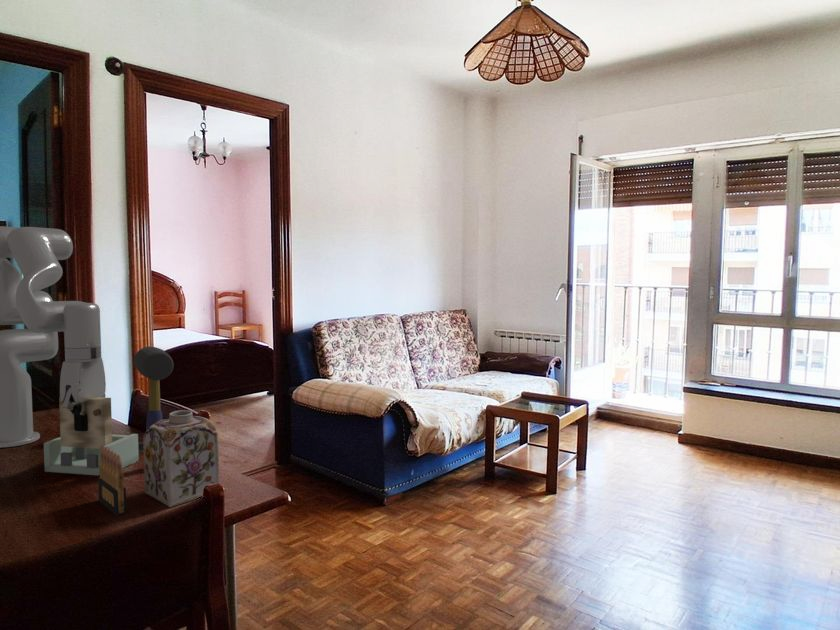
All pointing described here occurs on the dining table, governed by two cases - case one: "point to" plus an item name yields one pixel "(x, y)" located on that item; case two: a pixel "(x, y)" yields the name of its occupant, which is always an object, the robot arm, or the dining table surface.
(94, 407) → the wooden block
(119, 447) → the cabinet
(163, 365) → the rubber mallet
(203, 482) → the decorative jar
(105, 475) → the ammunition clip
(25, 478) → the dining table surface
